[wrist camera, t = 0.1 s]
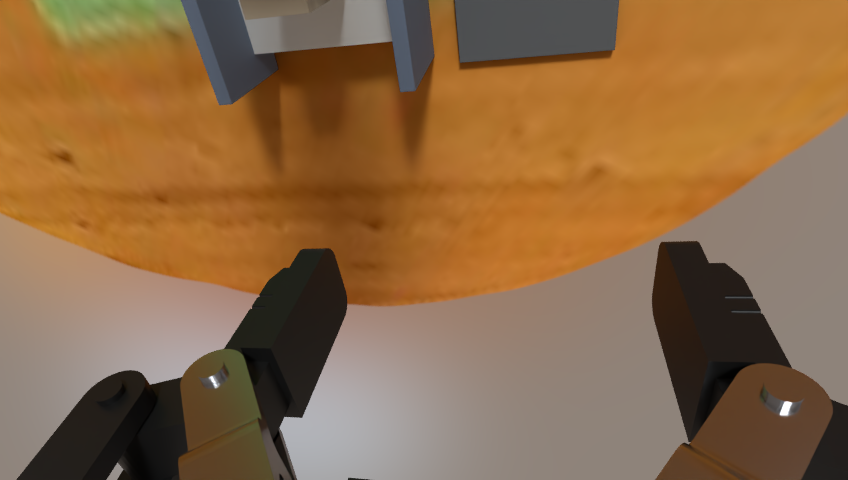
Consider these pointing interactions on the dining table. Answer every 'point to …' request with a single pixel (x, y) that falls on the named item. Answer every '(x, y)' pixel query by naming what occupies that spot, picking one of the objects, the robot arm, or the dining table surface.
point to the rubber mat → (534, 27)
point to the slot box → (305, 38)
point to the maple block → (278, 7)
